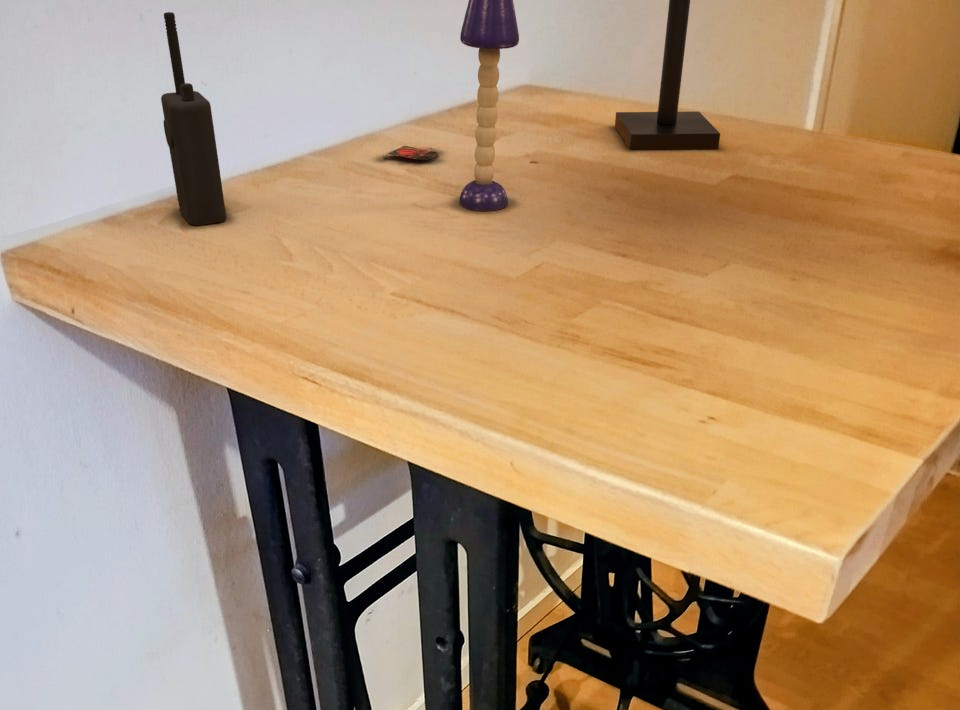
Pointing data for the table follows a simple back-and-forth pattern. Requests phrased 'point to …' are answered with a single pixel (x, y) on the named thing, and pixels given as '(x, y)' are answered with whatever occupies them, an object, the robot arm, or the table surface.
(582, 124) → the table surface
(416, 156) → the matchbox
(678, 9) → the stand
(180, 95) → the walkie-talkie
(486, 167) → the toy lamp
